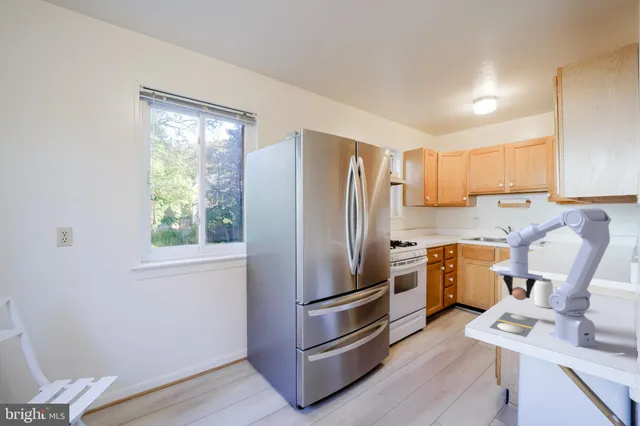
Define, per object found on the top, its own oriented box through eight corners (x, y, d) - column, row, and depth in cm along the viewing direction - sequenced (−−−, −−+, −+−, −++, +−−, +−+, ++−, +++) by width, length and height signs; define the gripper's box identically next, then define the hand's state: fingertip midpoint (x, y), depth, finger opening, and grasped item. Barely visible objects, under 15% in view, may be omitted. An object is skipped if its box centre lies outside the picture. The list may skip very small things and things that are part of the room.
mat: (525, 338, 94) (525, 336, 94) (489, 328, 102) (489, 327, 102) (538, 320, 109) (538, 318, 109) (505, 313, 117) (505, 311, 117)
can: (556, 309, 121) (556, 281, 121) (539, 308, 122) (539, 280, 122) (547, 304, 127) (547, 277, 127) (531, 303, 129) (531, 277, 129)
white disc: (529, 332, 98) (529, 331, 98) (508, 333, 97) (508, 333, 97) (511, 323, 106) (511, 322, 106) (492, 324, 105) (492, 323, 105)
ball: (530, 301, 109) (530, 288, 109) (518, 302, 108) (518, 289, 108) (520, 297, 114) (520, 285, 114) (508, 298, 113) (508, 285, 113)
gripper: (543, 263, 108) (544, 297, 108) (500, 258, 119) (501, 290, 119) (540, 265, 104) (541, 302, 104) (495, 261, 114) (496, 294, 114)
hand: (519, 296), depth 111 cm, fingers closed on ball, 5 cm apart
